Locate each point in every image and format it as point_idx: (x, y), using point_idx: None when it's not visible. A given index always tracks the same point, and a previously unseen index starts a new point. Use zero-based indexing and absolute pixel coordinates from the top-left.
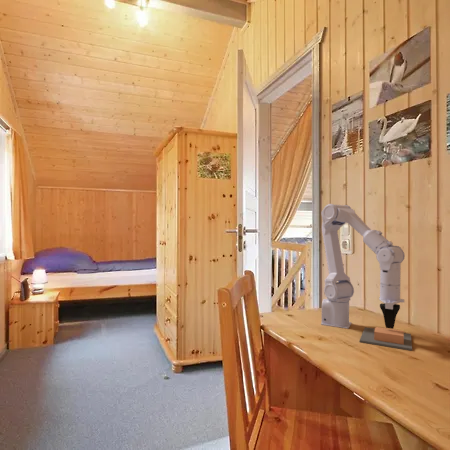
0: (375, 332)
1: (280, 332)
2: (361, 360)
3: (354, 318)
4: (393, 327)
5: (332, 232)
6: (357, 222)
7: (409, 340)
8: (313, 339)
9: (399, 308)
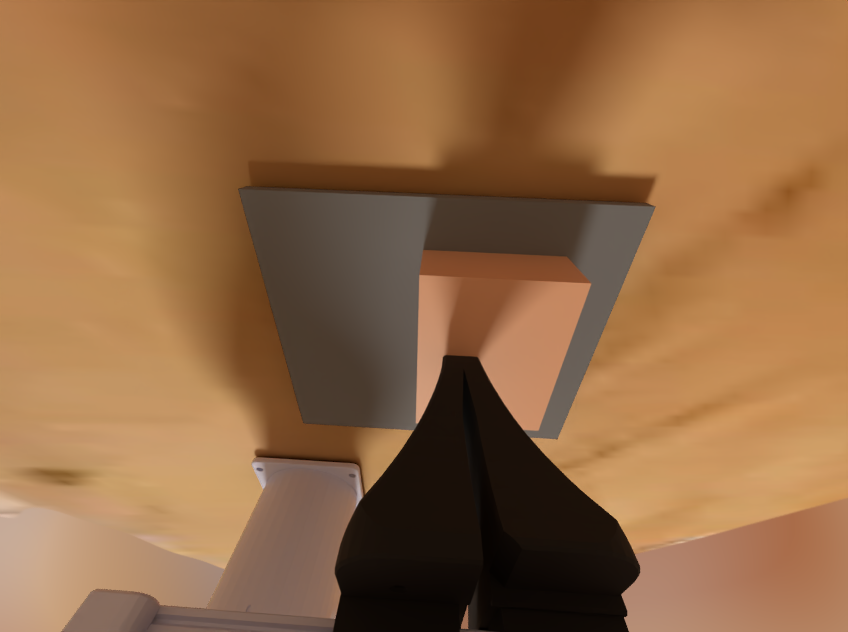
0: (539, 423)
1: None
2: (809, 421)
3: (139, 446)
4: (478, 361)
5: None
6: None
7: (443, 211)
8: None
9: (624, 553)
